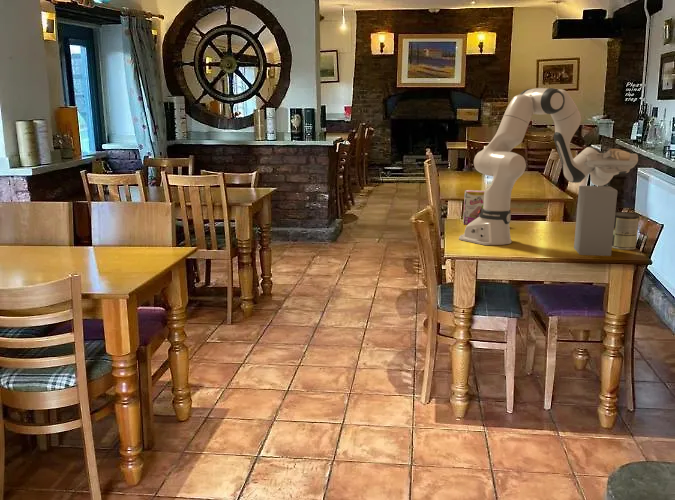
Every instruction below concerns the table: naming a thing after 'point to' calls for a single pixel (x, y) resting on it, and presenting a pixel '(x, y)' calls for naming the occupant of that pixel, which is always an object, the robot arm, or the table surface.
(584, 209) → the pedestal
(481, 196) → the candy bar box
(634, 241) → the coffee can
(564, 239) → the table surface
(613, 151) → the beech bar
